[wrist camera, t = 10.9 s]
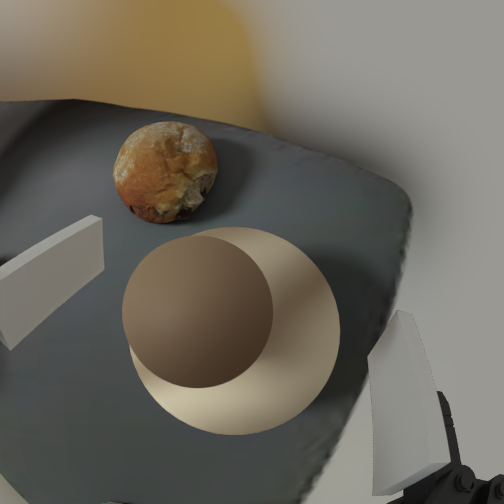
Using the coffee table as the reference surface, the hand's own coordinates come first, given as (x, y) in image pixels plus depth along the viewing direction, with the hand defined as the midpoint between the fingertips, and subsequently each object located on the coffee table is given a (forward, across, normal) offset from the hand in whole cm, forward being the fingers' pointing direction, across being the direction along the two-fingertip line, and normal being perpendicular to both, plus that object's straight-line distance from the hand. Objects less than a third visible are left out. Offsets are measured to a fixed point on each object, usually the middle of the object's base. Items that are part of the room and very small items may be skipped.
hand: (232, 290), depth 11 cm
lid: (+4, 0, -6) cm, 7 cm away
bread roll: (+15, -11, -1) cm, 19 cm away
